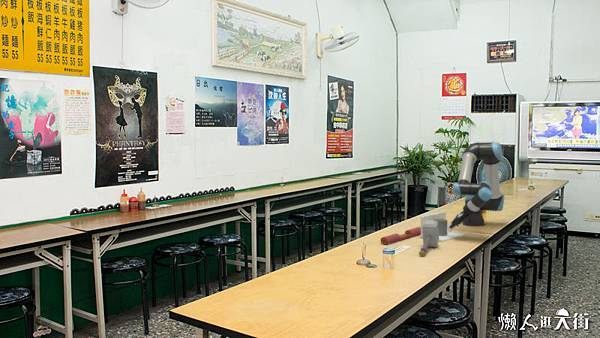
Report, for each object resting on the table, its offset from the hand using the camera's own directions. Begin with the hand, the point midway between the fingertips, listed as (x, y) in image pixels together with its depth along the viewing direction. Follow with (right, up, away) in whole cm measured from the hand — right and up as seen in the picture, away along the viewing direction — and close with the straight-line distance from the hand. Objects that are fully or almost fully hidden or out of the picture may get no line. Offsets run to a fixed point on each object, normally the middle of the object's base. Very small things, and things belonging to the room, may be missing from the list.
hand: (448, 230), depth 333 cm
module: (-4, -3, +5) cm, 7 cm away
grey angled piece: (-22, -8, -33) cm, 41 cm away
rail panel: (-2, -4, +3) cm, 6 cm away
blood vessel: (-29, -6, -1) cm, 30 cm away
